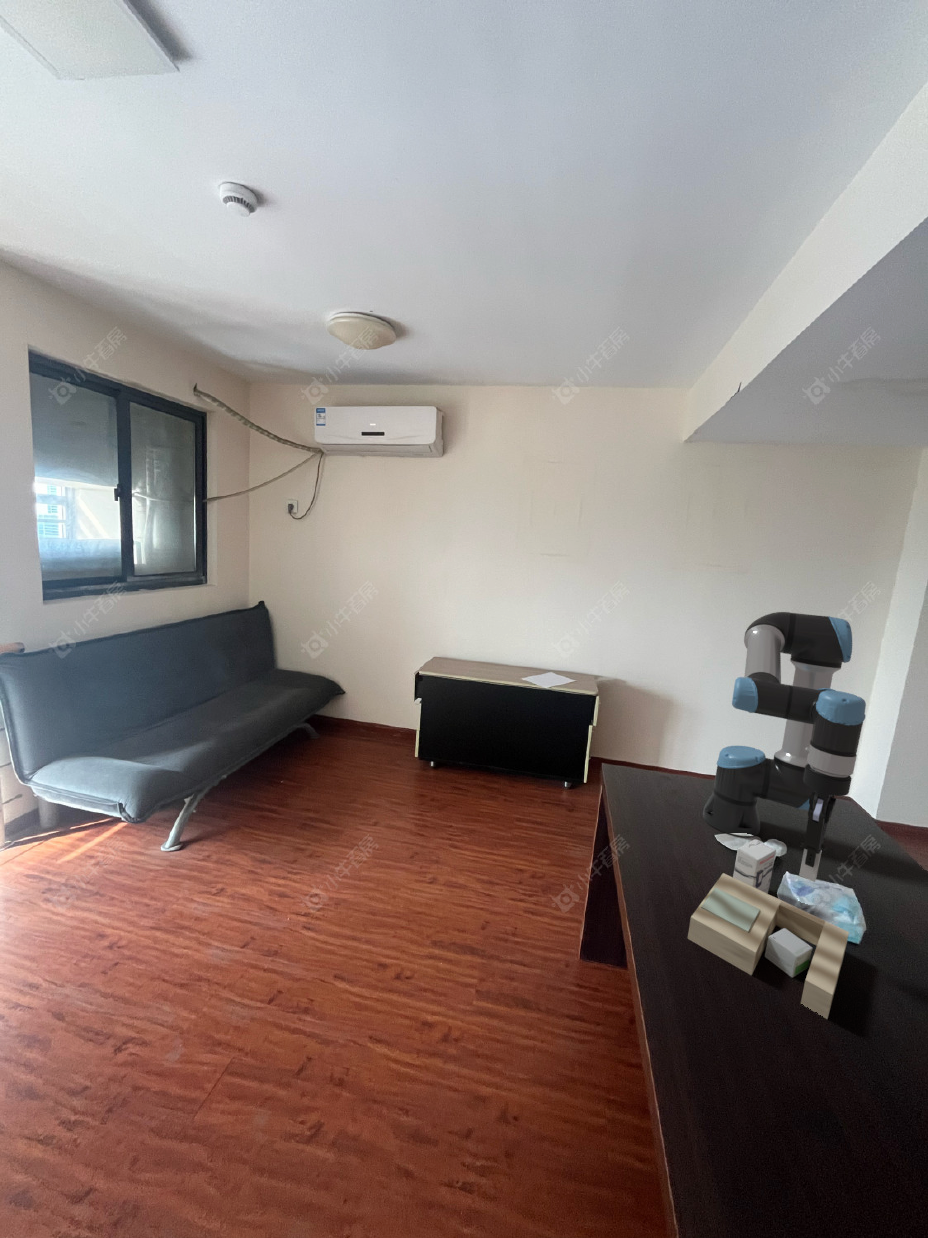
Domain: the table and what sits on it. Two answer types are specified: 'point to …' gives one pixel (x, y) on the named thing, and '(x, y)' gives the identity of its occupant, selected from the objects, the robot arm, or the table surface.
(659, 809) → the table surface
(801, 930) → the board
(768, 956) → the small box
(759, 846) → the ink box
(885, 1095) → the table surface
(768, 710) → the robot arm
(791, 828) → the table surface
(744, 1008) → the table surface
